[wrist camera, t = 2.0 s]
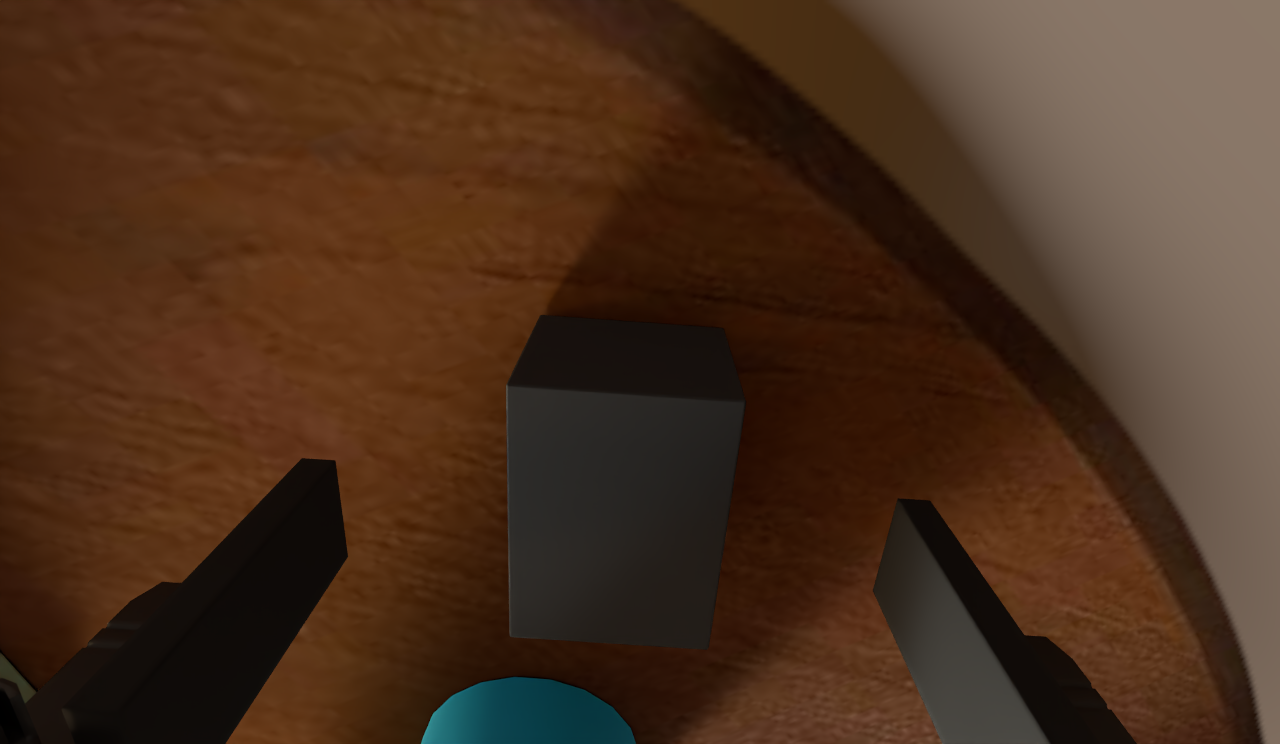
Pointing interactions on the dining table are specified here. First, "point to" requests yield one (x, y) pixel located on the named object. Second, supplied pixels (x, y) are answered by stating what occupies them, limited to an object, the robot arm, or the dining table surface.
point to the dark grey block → (620, 480)
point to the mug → (526, 715)
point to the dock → (15, 678)
